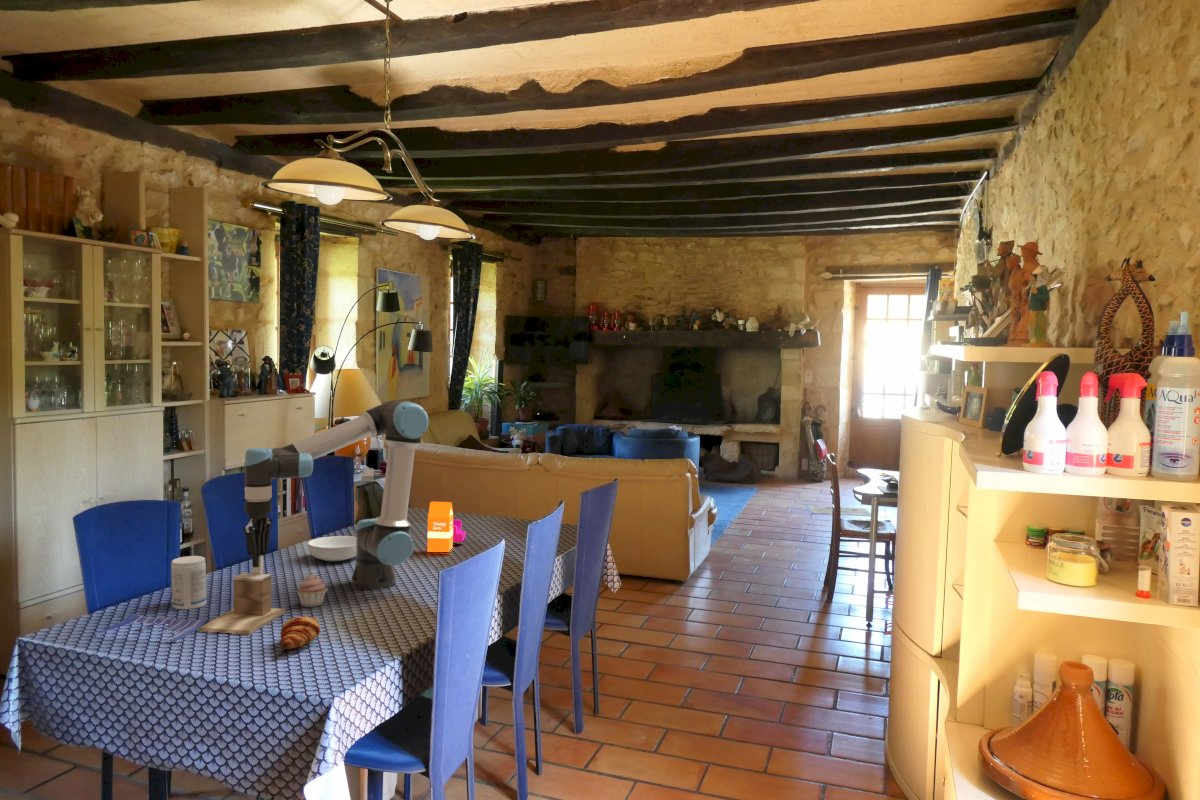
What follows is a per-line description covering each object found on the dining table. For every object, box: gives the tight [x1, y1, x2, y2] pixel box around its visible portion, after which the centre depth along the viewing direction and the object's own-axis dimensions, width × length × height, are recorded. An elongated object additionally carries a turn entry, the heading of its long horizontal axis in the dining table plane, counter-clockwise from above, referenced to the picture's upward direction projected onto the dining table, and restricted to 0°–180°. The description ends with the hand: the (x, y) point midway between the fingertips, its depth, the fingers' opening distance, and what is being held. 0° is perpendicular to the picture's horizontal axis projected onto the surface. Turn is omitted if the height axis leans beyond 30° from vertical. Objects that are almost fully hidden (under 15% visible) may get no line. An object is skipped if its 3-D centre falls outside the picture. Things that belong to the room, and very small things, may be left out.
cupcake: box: [296, 573, 329, 608], centre depth 256 cm, size 9×9×10 cm
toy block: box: [453, 518, 467, 542], centre depth 349 cm, size 15×6×8 cm, turn 1°
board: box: [198, 607, 286, 636], centre depth 238 cm, size 15×20×1 cm
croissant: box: [279, 615, 321, 650], centre depth 223 cm, size 21×10×8 cm
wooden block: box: [233, 572, 272, 616], centre depth 243 cm, size 9×5×11 cm, turn 84°
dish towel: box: [98, 613, 209, 642], centre depth 228 cm, size 17×24×3 cm
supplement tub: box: [170, 555, 208, 610], centre depth 251 cm, size 10×10×15 cm
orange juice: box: [426, 501, 454, 552], centre depth 329 cm, size 8×9×20 cm
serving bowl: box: [307, 535, 357, 562], centre depth 313 cm, size 21×21×7 cm
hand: (257, 576), depth 246 cm, fingers closed
